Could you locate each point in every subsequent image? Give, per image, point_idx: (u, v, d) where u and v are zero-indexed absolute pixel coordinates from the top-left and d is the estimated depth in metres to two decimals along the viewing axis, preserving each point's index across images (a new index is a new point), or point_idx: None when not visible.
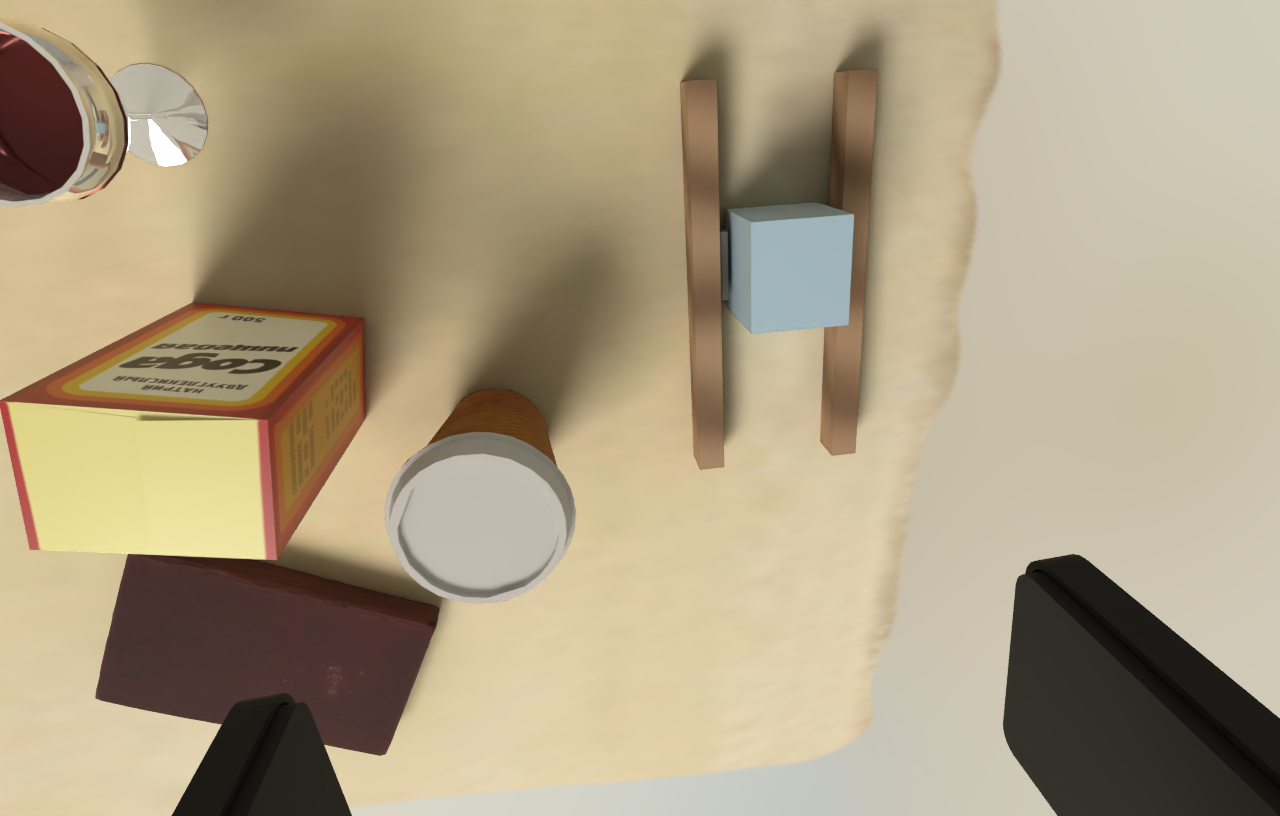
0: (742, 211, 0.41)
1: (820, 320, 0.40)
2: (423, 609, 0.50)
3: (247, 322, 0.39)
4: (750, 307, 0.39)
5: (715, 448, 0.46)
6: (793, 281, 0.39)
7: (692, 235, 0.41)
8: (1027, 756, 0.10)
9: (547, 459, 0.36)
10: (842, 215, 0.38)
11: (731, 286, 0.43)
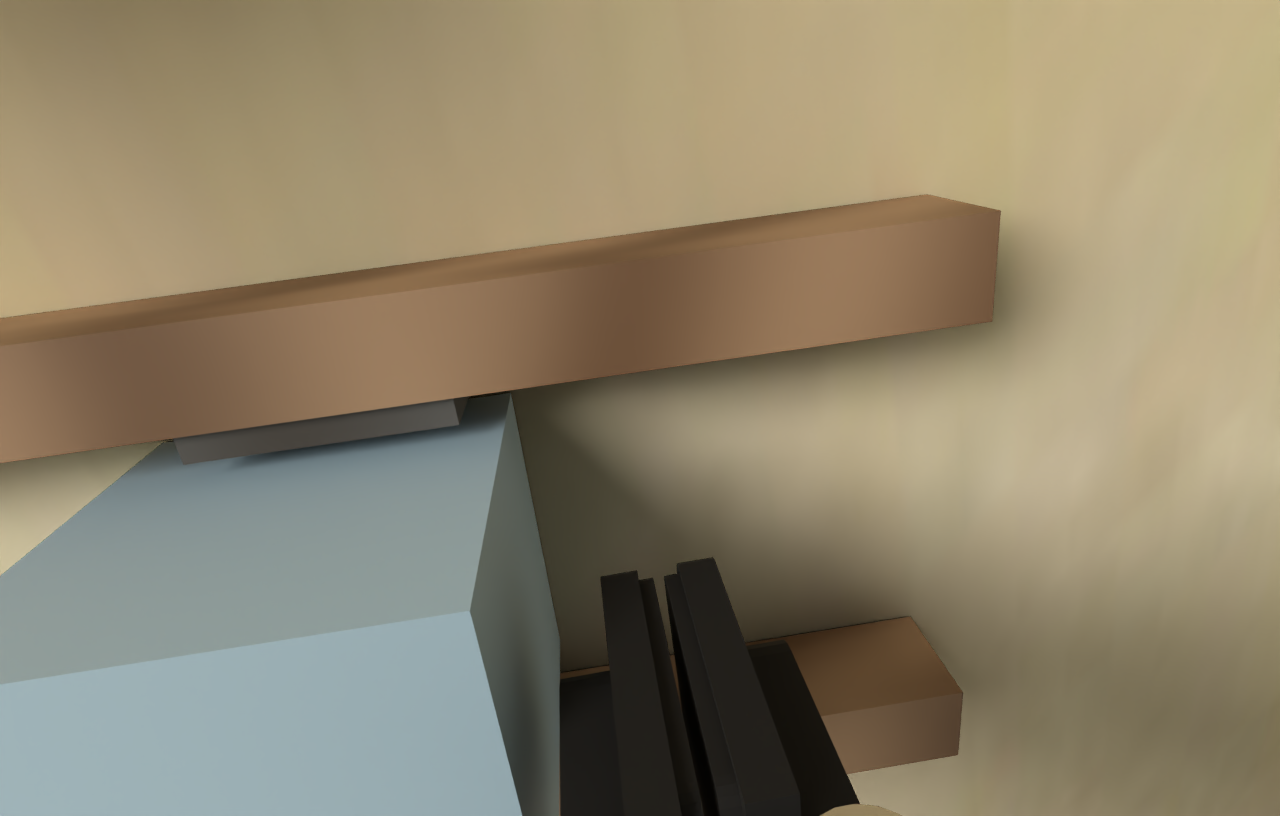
0: (511, 465, 0.11)
1: None
2: None
3: None
4: (7, 671, 0.07)
5: None
6: None
7: (422, 290, 0.10)
8: (688, 742, 0.10)
9: None
10: None
11: (225, 462, 0.11)
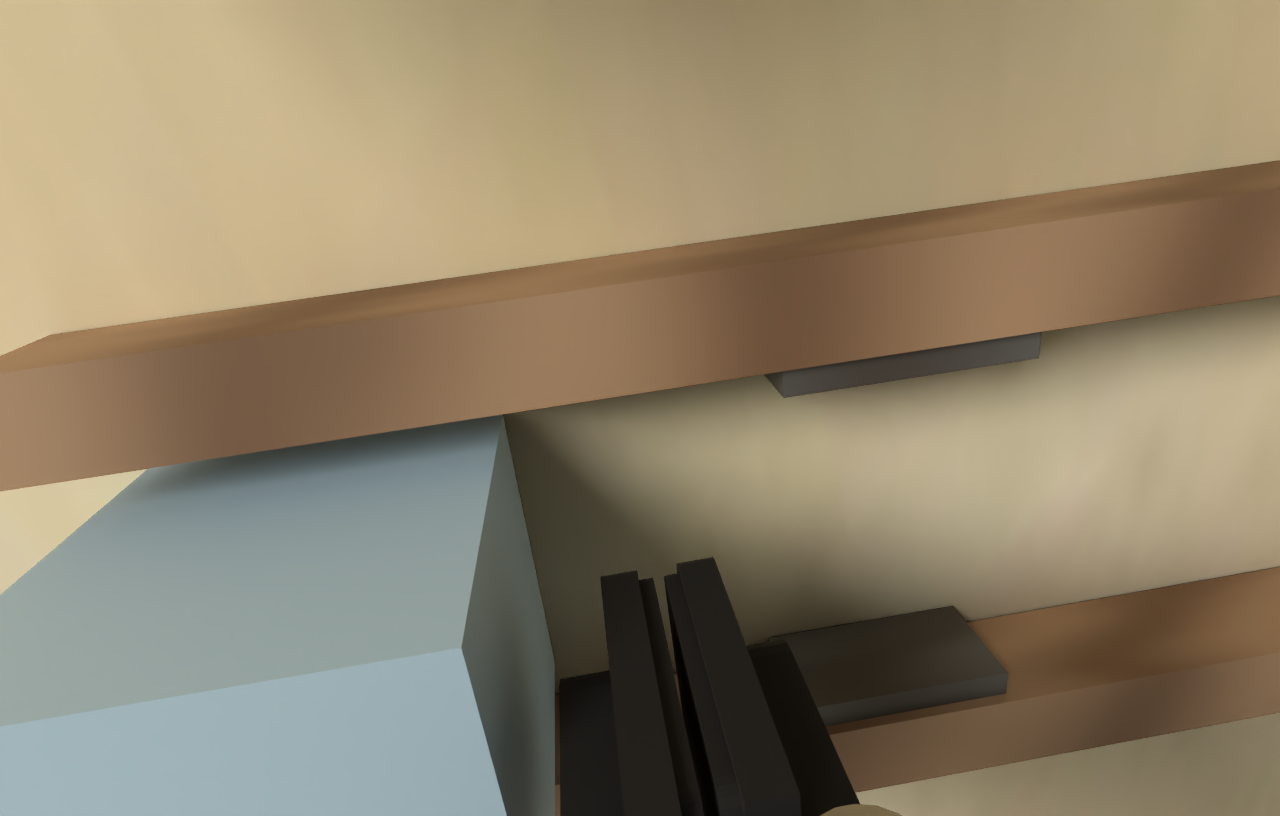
0: (503, 489, 0.11)
1: None
2: None
3: None
4: None
5: (85, 437, 0.10)
6: None
7: (1055, 222, 0.10)
8: (688, 742, 0.10)
9: None
10: None
11: (212, 489, 0.11)
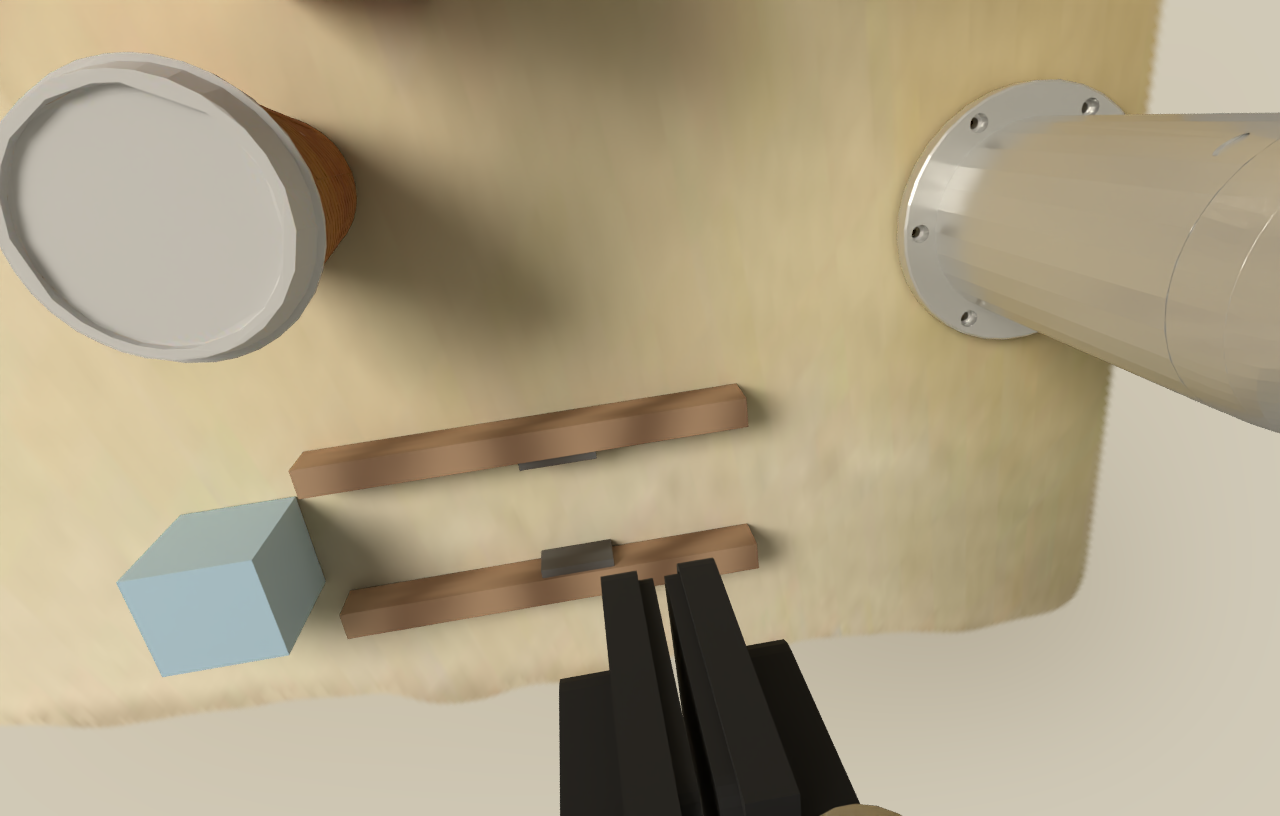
0: (288, 522, 0.37)
1: (158, 649, 0.34)
2: None
3: None
4: (151, 574, 0.33)
5: (323, 484, 0.36)
6: (196, 613, 0.33)
7: (589, 423, 0.36)
8: (688, 742, 0.10)
9: (297, 317, 0.24)
10: (285, 644, 0.35)
11: (200, 522, 0.37)
